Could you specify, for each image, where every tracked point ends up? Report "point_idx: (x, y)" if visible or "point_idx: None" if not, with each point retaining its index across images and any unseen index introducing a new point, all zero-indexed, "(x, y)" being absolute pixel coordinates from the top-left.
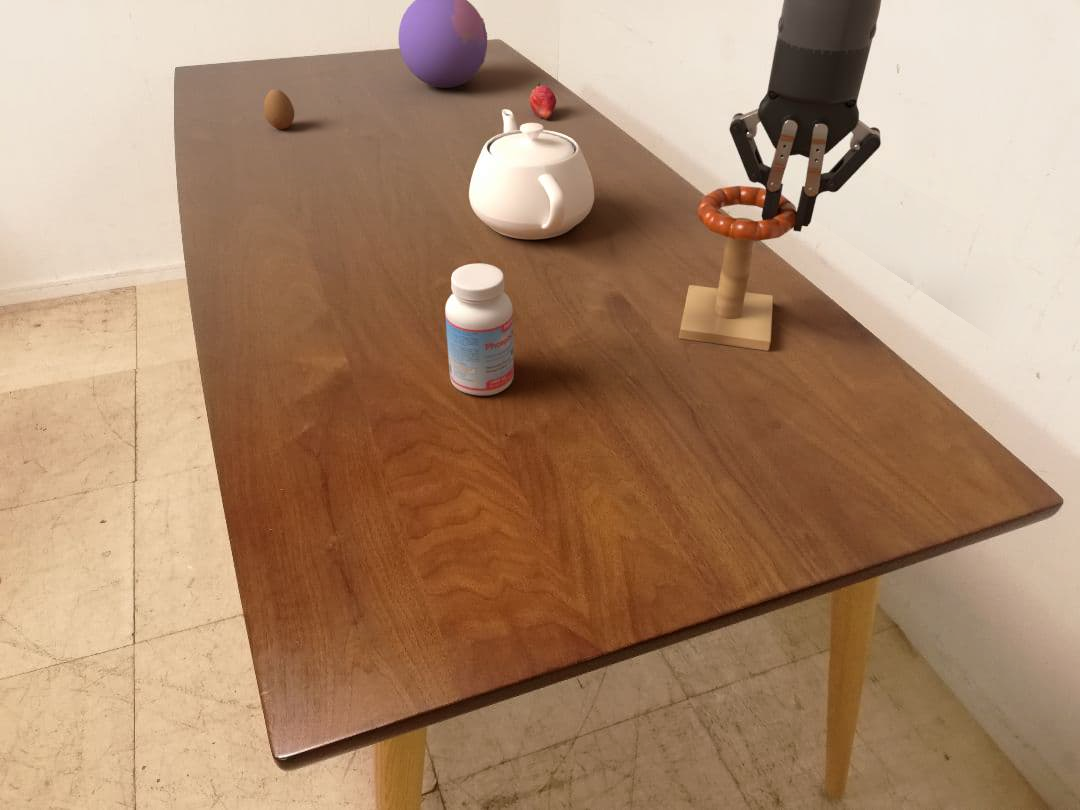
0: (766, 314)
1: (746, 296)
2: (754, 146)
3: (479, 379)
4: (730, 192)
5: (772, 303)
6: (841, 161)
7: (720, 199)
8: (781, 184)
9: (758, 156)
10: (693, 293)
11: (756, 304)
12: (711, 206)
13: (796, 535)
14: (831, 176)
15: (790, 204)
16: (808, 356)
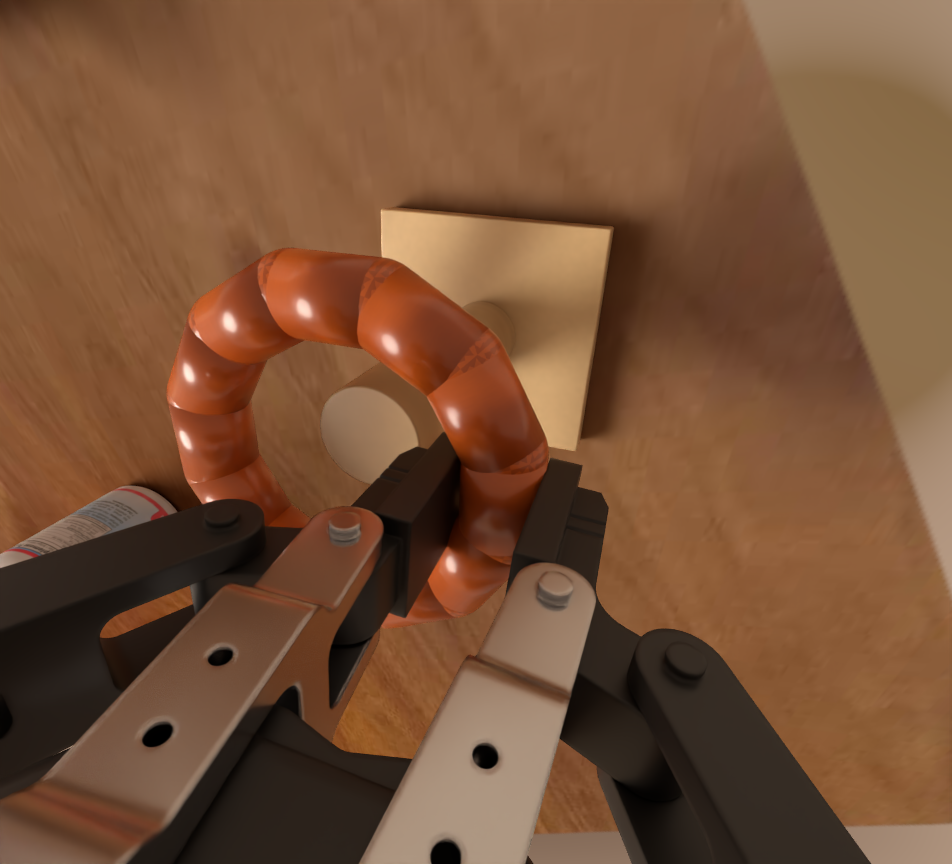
0: (579, 338)
1: (532, 248)
2: (76, 663)
3: None
4: (246, 348)
5: (604, 275)
6: (705, 817)
7: (229, 396)
8: (404, 529)
9: (167, 587)
10: (395, 258)
11: (557, 290)
12: (209, 496)
13: (569, 789)
14: (626, 771)
15: (501, 486)
16: (671, 453)
